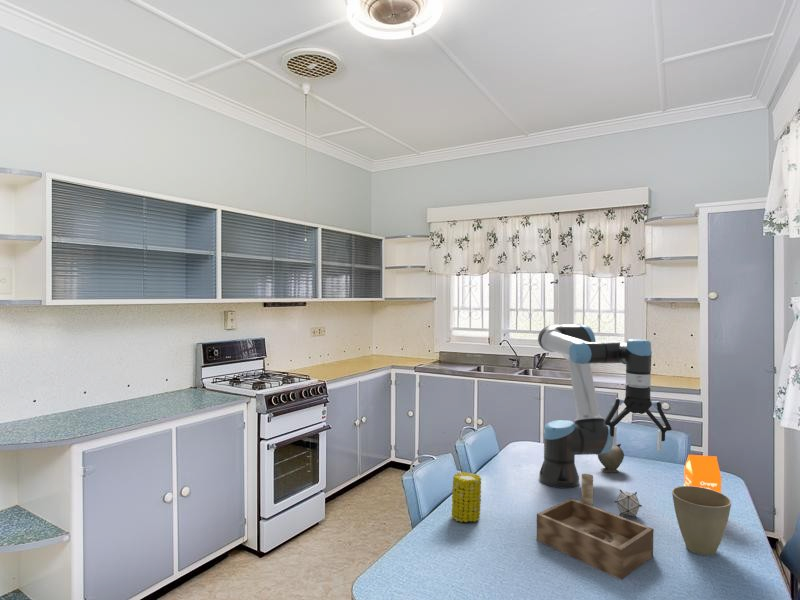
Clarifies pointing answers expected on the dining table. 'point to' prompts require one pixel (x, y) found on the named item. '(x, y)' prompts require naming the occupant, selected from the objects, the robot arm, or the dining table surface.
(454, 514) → the food
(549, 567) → the dining table surface
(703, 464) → the orange juice
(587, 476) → the peg
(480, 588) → the dining table surface
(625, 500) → the game die
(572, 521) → the box
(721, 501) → the plant pot
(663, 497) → the dining table surface
